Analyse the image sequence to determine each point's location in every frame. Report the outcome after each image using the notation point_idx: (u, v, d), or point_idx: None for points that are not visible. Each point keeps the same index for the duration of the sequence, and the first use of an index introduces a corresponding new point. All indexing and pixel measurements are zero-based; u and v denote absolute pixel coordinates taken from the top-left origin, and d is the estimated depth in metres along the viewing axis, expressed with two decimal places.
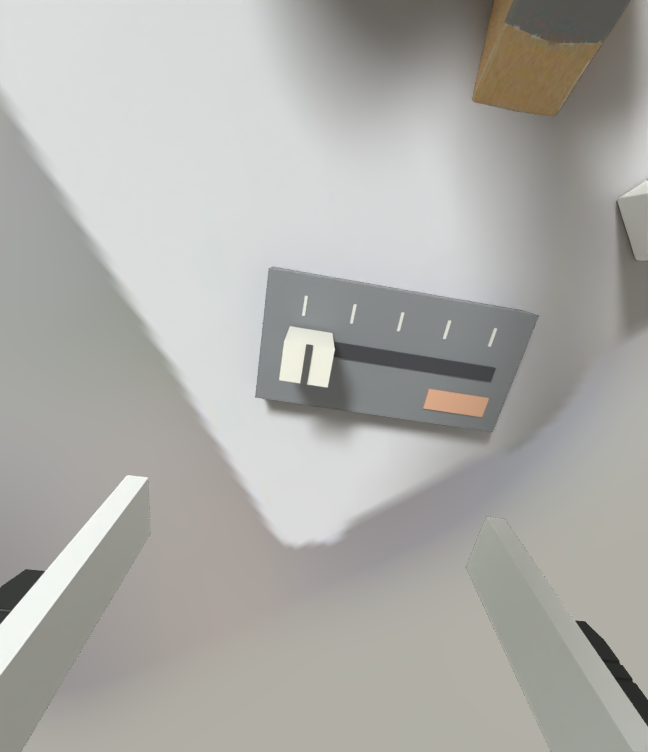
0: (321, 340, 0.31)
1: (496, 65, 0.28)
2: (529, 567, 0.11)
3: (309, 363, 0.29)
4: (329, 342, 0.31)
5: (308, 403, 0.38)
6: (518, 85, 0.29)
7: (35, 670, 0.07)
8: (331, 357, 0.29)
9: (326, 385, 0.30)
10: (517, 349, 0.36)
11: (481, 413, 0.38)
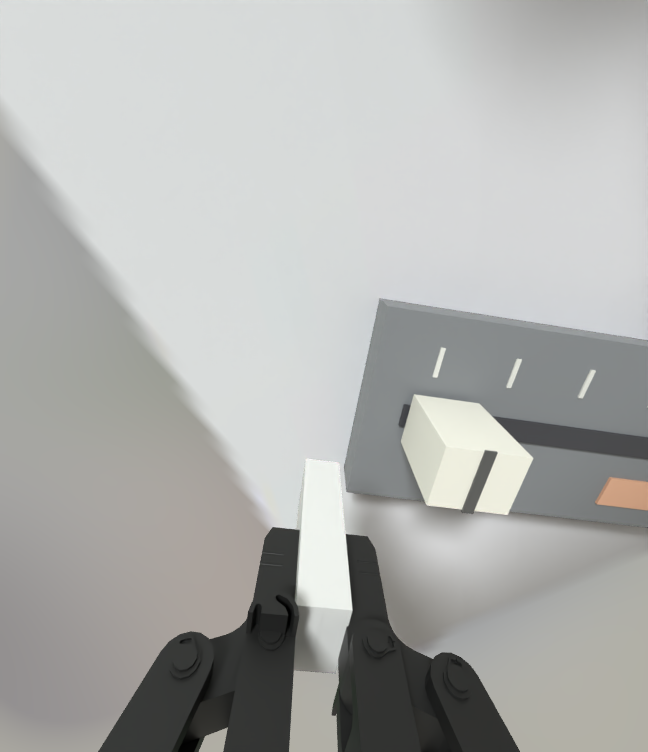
0: (488, 430, 0.18)
1: None
2: (333, 495, 0.13)
3: (484, 480, 0.17)
4: (503, 434, 0.18)
5: None
6: None
7: None
8: (524, 470, 0.17)
9: (506, 511, 0.17)
10: None
11: None
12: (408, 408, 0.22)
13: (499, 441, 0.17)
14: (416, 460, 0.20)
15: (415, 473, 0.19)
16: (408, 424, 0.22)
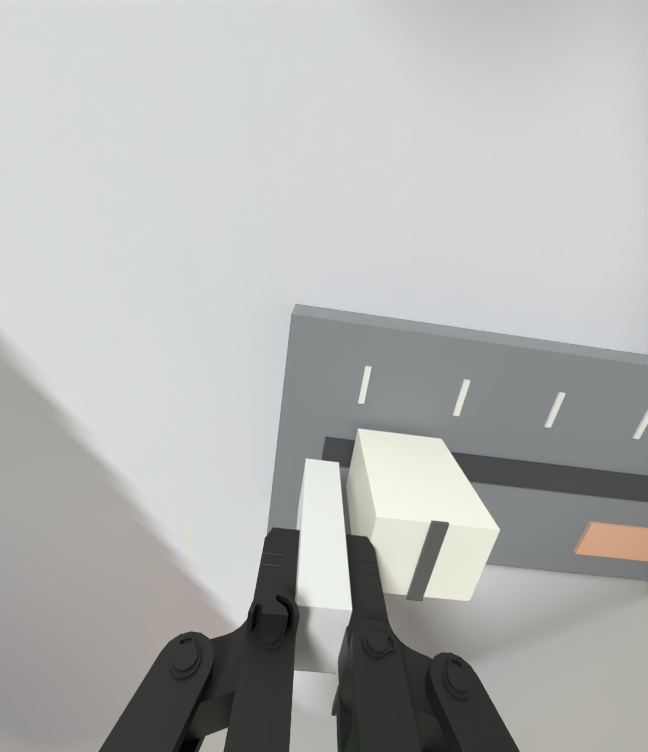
0: (444, 482, 0.14)
1: None
2: (333, 495, 0.13)
3: (434, 559, 0.12)
4: (464, 488, 0.14)
5: None
6: None
7: None
8: (489, 545, 0.12)
9: (467, 597, 0.13)
10: None
11: None
12: (330, 442, 0.18)
13: (456, 501, 0.13)
14: (354, 519, 0.15)
15: None
16: (352, 466, 0.17)
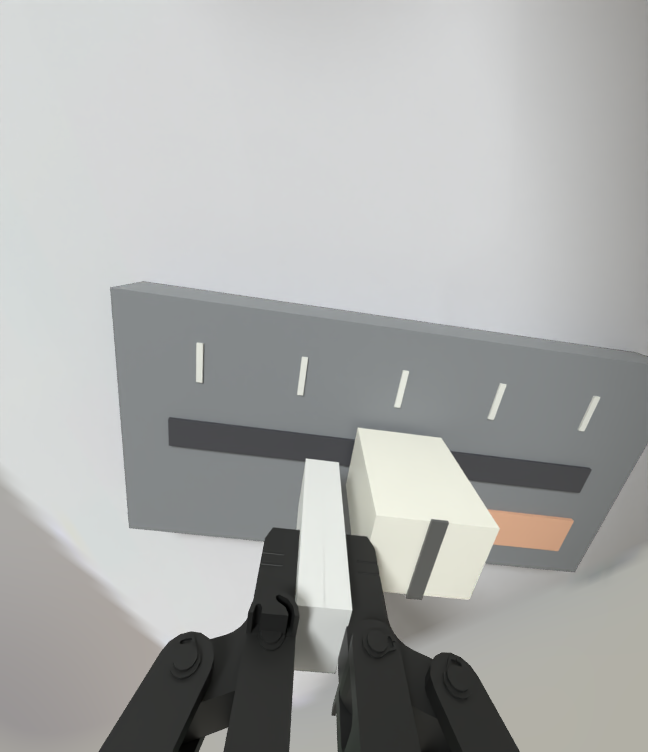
0: (444, 481, 0.14)
1: None
2: (333, 495, 0.13)
3: (434, 557, 0.12)
4: (464, 487, 0.14)
5: (231, 535, 0.20)
6: None
7: None
8: (488, 544, 0.12)
9: (467, 596, 0.13)
10: (636, 434, 0.18)
11: (557, 545, 0.20)
12: (174, 422, 0.17)
13: (456, 500, 0.13)
14: (354, 518, 0.15)
15: None
16: (351, 465, 0.17)
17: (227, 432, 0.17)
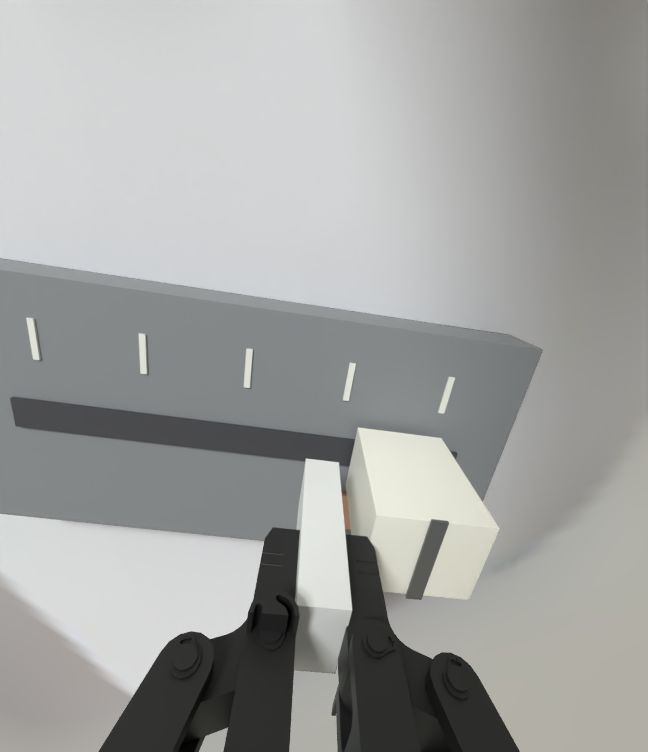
0: (444, 481, 0.14)
1: None
2: (333, 495, 0.13)
3: (433, 558, 0.12)
4: (464, 487, 0.14)
5: (99, 521, 0.20)
6: None
7: None
8: (488, 544, 0.12)
9: (466, 596, 0.13)
10: (499, 417, 0.17)
11: None
12: (17, 402, 0.17)
13: (456, 500, 0.13)
14: (354, 518, 0.15)
15: None
16: (351, 465, 0.17)
17: (73, 412, 0.17)
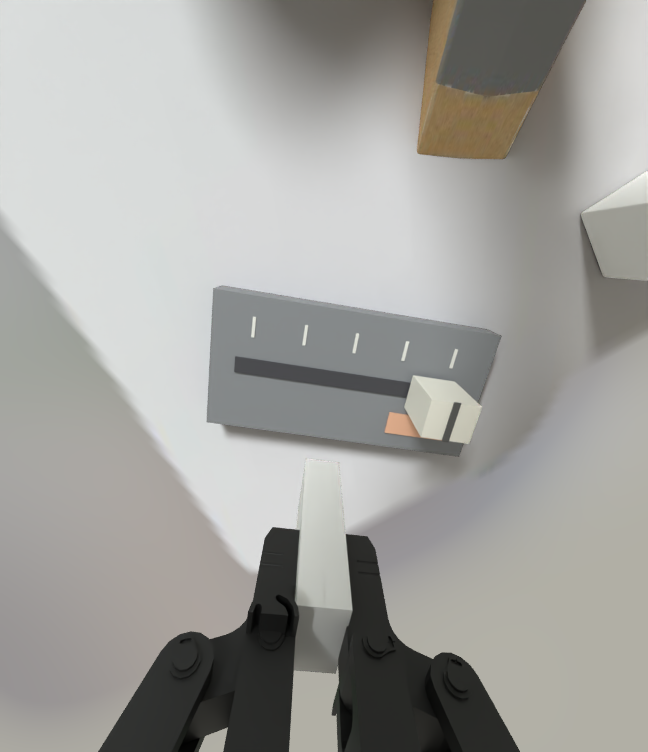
0: (458, 394, 0.30)
1: (435, 121, 0.28)
2: (333, 495, 0.13)
3: (454, 420, 0.28)
4: (467, 396, 0.30)
5: (263, 428, 0.36)
6: (461, 136, 0.28)
7: None
8: (477, 414, 0.28)
9: (468, 441, 0.29)
10: (480, 371, 0.34)
11: None
12: (238, 359, 0.33)
13: (463, 399, 0.29)
14: (414, 414, 0.31)
15: (414, 422, 0.31)
16: (409, 394, 0.34)
17: (265, 365, 0.33)
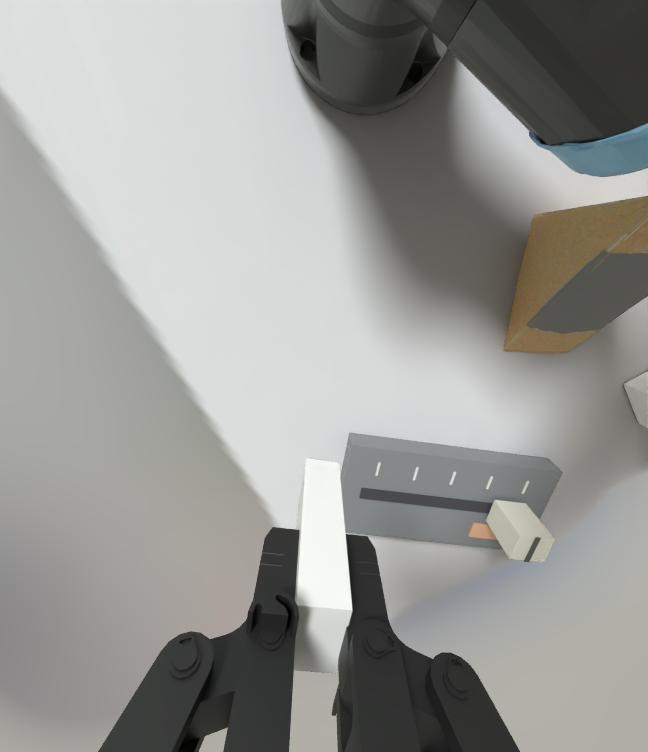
0: (534, 523, 0.41)
1: (521, 339, 0.38)
2: (333, 495, 0.13)
3: (535, 548, 0.39)
4: (541, 525, 0.41)
5: (375, 534, 0.47)
6: (538, 346, 0.39)
7: None
8: (551, 544, 0.39)
9: (543, 561, 0.40)
10: (545, 494, 0.45)
11: None
12: (363, 490, 0.44)
13: (540, 530, 0.40)
14: (499, 535, 0.42)
15: (499, 541, 0.42)
16: (491, 514, 0.45)
17: (383, 493, 0.44)
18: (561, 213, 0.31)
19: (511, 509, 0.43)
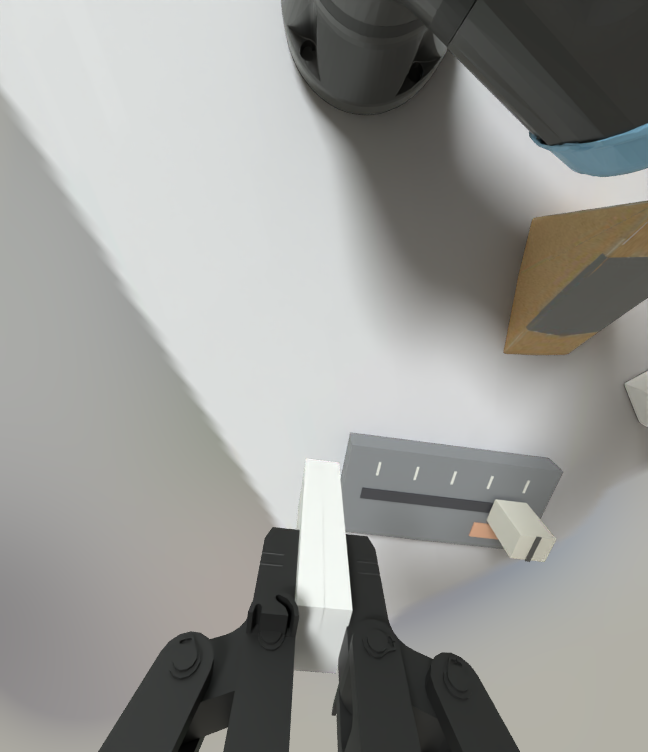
0: (535, 523, 0.41)
1: (521, 342, 0.39)
2: (333, 495, 0.13)
3: (535, 548, 0.39)
4: (542, 525, 0.41)
5: (376, 533, 0.47)
6: (538, 348, 0.39)
7: None
8: (552, 544, 0.39)
9: (544, 560, 0.40)
10: (545, 494, 0.45)
11: None
12: (364, 489, 0.44)
13: (541, 530, 0.40)
14: (500, 534, 0.42)
15: (500, 541, 0.42)
16: (492, 513, 0.45)
17: (384, 493, 0.44)
18: (559, 217, 0.31)
19: (512, 509, 0.43)
